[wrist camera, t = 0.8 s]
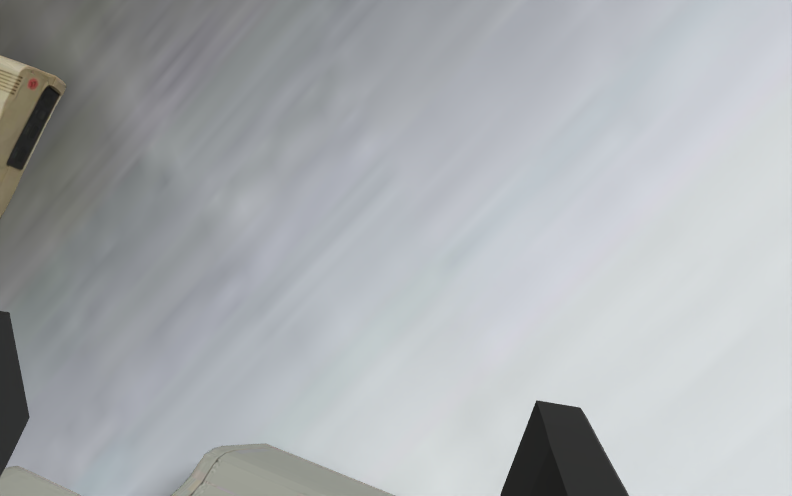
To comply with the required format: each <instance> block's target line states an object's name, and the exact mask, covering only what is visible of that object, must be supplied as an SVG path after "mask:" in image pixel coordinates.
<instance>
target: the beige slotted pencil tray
mask: <svg viewBox="0 0 792 496" xmlns="http://www.w3.org/2000/svg"><path fill="white" fill-rule="evenodd" d="M65 88H66V84H65V83H64V82H63V81H62V80H61V79H59V78H58V77H57V76H55V75H52V74H49V73H46V72H44V71H41V70H39V69H37V68H34V67H31V66H29V65H26V64H23V63H20V62H18V61H15V60H12V59H9V58H6V57H3V56H0V218H1V216H2V215H3V213H4V211H5V209H6V208H7V206H8V204H9V202H10V200H11V198H12V195H13V193H14V192H15V190H16V187H17V185H18V183H19V181H20V178H21V176H22V174H23V172H24V170H25V168H26V166H27V163H28V161H29V159H30V157H31V155H32V153H33V151H34V149H35V147H36V145H37V143H38V141H39V139H40V137H41V135H42V133H43V130H44V128H45V126H46V124H47V123H48V121H49V119H50V117H51V115H52V113H53V111H54V109H55V106H56V105H57V103H58V101H59V100H60V98H61V96H62V95H63V94H64V91H65Z"/></svg>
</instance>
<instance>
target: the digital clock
mask: <svg viewBox="0 0 792 496" xmlns="http://www.w3.org/2000/svg"><path fill="white" fill-rule="evenodd" d="M0 496H81V495H79V494H77V493H75V492H73V491H71V490H69V489H66V488H64V487H62V486H60V485H58V484H56V483H54V482H51V481H49V480H47V479H45V478H43V477H41V476H39V475H37V474H34V473H32V472H30V471H28V470H26V469H24V468H22V467H19V466H14V467H8V468H5V469H4V471H3V473H2V475H1V477H0ZM171 496H395V495H392V494H390V493H387V492H385V491H382V490H380V489H377V488H375V487H372V486H370V485H367V484H365V483H362V482H360V481H357V480H355V479H352V478H350V477H347V476H345V475H342V474H340V473H337V472H335V471H332V470H330V469H328V468H325V467H323V466H320V465H318V464H315V463H313V462H310V461H308V460H305V459H303V458H300V457H298V456H295V455H293V454H290V453H288V452H285V451H283V450H280V449H278V448H275V447H273V446H270V445H268V444H249V445H231V446H220V447H217V448H213V449H212V450H210V451H209V452H207V453H206V454H205V455H204V456H203V458H202V459H201V461H200V462H199V463H198V465H197V466H196V468H195V470H194V471H193V473H192V474H191V476H190V477H189V478H188V479H187V480H186V482H185V483H184V484H183V485H182V486H181V487H180V488H179V489H178V490H177V491H175V492H174V493H173V494H172V495H171Z"/></svg>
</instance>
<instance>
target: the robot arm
mask: <svg viewBox="0 0 792 496" xmlns="http://www.w3.org/2000/svg"><path fill="white" fill-rule="evenodd" d="M28 419H29V413H28V407H27V402H26V397H25V392H24V386H23V381H22V376H21V371H20V366H19V360H18V355H17V350H16V345H15V339H14V334H13V329H12V324H11V319H10V313H9V312H3V311H0V477H1V475H2V473H3V471H4V469H5V467H6V465H7V463H8V461H9V459H10V457H11V455H12V453H13V451H14V449H15V447H16V445H17V443H18V440H19V438H20V436H21V434H22V432H23V430H24V428H25V426H26V424H27V422H28ZM501 496H629V495H628V493H627V491H626V489H625V487H624V486H623V484H622V482H621V480H620V478H619V477H618V475H617V473H616V471H615V469H614V468H613V466H612V464H611V462H610V460H609V458H608V457H607V455H606V453H605V451H604V449H603V447H602V445H601V444H600V442H599V440H598V438H597V436H596V434H595V432H594V430H593V429H592V427H591V425H590V423H589V421H588V419H587V417H586V416H585V414H584V412H583V411H582V410H581V408H579V407H573V406H567V405H561V404H555V403H549V402H543V401H536V403H535V406H534V408H533V411H532V414H531V416H530V419H529V421H528V424H527V427H526V429H525V432H524V434H523V437H522V440H521V442H520V445H519V448H518V450H517V453H516V455H515V458H514V461H513V463H512V466H511V468H510V471H509V474H508V476H507V479H506V481H505V484H504V487H503V489H502V492H501Z"/></svg>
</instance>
